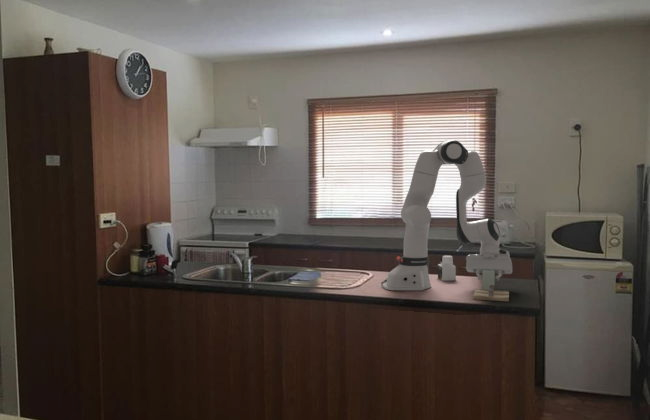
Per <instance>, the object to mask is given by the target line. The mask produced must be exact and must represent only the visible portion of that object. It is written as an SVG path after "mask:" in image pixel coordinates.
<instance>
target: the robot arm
mask: <svg viewBox="0 0 650 420" xmlns="http://www.w3.org/2000/svg"><path fill="white" fill-rule="evenodd" d="M442 165H449V166H450V165H454V166H456V167H457V169H458V171H459V176H460V185H459V188H458V189H457V190H456V195H455V208H456V209H455V210H456V237H457V240H458V241H459V242H460V243H462V244H464V245H468V244H472V243H477V242H480V247H479V253H478V254H477V253H476V254H474V253H473V254H472V253H470V254H468V255H466V257H465V261H466V263H465V265H466V266H465V270H466V272H468V273H476V276H477V280H478V281H482V271H483V269H484V270H495V274H497V275H495V281H494V282H499V280H500V278H501V277H502V275H511V274H512V273H513V263H512V261H513V260H512V258H511V257H510V251H508V250H506V249H502V248H500V244H501V236H500V234H501V233H500V227H499V226H498V224H497V223H496V221H494V220H493V219H491V218H484V219H479V220H473V221H468V219H467V203H468V201H469V200H470V199H472V198H473V197H475V196H476V195H478V194H479V193H481V192H482V191H483V190H484V188H485V186H486V184H487V179H486V172H485V169H484V165H483V162H482V159H481V157H480V155H479V152H477V151H474V150H468V149H467V148H466V147H465V146H464V145H463V144H462V143H461V142H460V141H459V140H456V139H448V140H444V141H442V142H441V143H439V144H438V145H436V147H435V148H434V149H433V150H432V149H431V150H428V149H427V150H424V151H422V152H421V153H420V154H419V156H418V158H417V161H416V162H415V166H414V169H413V174H412V177H411V181H410V185H409V189H408V192H407V194H406V197H405V199H404V203H403V205H402V208H401V210H400V217H401V220H402V221H403V223H404V224H405V229H404V231H405V232H404V237H403V256H401V257H400V256H397V257H396V261H398V262H399V263H398V265H397V266H395V268H393V269H392V270H390V272H388V274H387V278H386V282H382V284H381V287H382V288H383V289H385V290H388V291H424V290H426V289H430V288H432V285H431V281H430V276H429V275H430V274H429V266H430V265H429V263H430V261H429V256H428V241H429V240H428V239H429V233H430V225H431V221H432V212H431V210H430V209H429V208H428V205H429V203H430V200H431V199H432V196H433V194H434V191H435V187H436V183H437V180H438V175H439V171H440V168H441V167H442ZM480 273H481V274H480Z"/></svg>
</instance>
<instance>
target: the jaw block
mask: <svg viewBox="0 0 650 420" xmlns="http://www.w3.org/2000/svg"><path fill="white" fill-rule="evenodd" d="M495 274H496V273H495V270H484V269H483V271H482V273H481V275H482V280H481V282H482V287H481V288H482V290H489V289H490V285H494V286H495V282H496V281H495V276H496V275H495Z"/></svg>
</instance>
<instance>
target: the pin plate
mask: <svg viewBox="0 0 650 420" xmlns="http://www.w3.org/2000/svg"><path fill="white" fill-rule="evenodd" d="M473 300H479V301H492V302H509V301H510V290H500V289H499V290H498V289H497V290H496V289H495V284H494V285H490V289H489V290H482V289H479V288H476V289H475V290H474V293H473Z"/></svg>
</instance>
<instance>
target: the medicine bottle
mask: <svg viewBox="0 0 650 420" xmlns="http://www.w3.org/2000/svg"><path fill="white" fill-rule="evenodd" d="M453 260H454V256H452V255H450V254H442V255H441V256H440V263H438V264H437V279H439V280H440V281H441V282H442V281H456V280H457V278H456V276H457V275H456V274H457V270H456V269H457V267H456V265H455V264H454V261H453Z"/></svg>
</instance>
